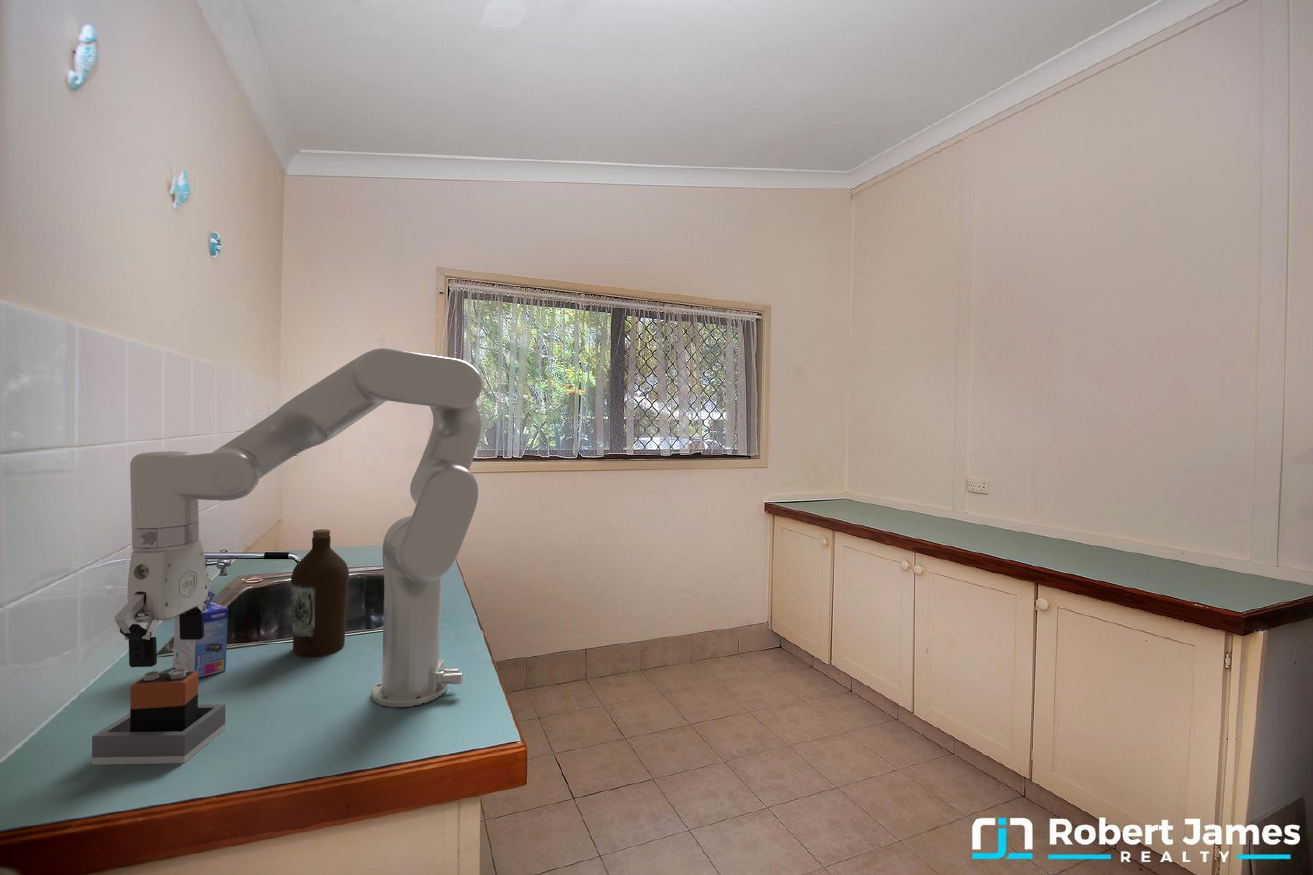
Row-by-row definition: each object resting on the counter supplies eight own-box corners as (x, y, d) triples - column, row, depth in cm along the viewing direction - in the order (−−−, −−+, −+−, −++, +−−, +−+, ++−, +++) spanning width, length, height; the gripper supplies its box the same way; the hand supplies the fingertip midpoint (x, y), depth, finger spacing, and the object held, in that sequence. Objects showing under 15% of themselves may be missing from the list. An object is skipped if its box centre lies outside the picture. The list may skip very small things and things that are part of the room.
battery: (183, 744, 86) (184, 676, 85) (128, 748, 84) (128, 679, 84) (198, 728, 90) (199, 664, 90) (146, 732, 88) (147, 666, 88)
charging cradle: (225, 729, 92) (225, 704, 92) (184, 763, 83) (184, 735, 83) (142, 730, 91) (142, 704, 91) (91, 764, 82) (92, 736, 82)
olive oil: (324, 636, 131) (327, 524, 130) (358, 644, 127) (361, 529, 126) (277, 652, 121) (279, 531, 121) (312, 662, 117) (315, 537, 116)
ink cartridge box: (228, 670, 112) (230, 595, 112) (194, 681, 108) (195, 602, 107) (205, 658, 117) (206, 586, 117) (171, 667, 113) (172, 592, 112)
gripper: (148, 550, 78) (151, 677, 78) (230, 524, 95) (232, 629, 96) (86, 550, 77) (90, 679, 78) (181, 525, 94) (183, 630, 95)
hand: (168, 651), depth 87 cm, fingers open, 9 cm apart
